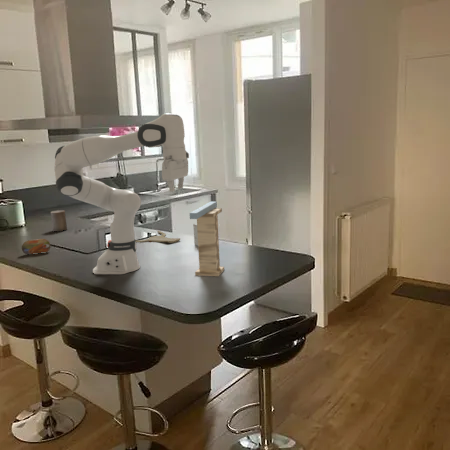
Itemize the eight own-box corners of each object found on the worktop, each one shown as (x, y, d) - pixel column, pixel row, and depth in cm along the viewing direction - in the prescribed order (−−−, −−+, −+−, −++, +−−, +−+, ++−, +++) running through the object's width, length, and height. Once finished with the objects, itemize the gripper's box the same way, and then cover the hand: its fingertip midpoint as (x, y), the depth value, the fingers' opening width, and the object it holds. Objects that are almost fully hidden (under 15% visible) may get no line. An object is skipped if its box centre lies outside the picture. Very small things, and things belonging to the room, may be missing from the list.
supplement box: (211, 245, 266) (210, 223, 264) (200, 247, 262) (199, 225, 260) (204, 242, 272) (203, 221, 270) (194, 244, 268) (192, 223, 266)
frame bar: (196, 219, 191) (196, 213, 190) (189, 218, 191) (189, 213, 191) (216, 206, 219) (216, 201, 218) (210, 206, 220) (210, 201, 219)
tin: (22, 256, 259) (20, 241, 258) (23, 254, 262) (21, 240, 261) (51, 252, 264) (49, 238, 262) (51, 251, 267) (49, 237, 265)
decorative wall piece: (193, 238, 288) (159, 233, 306) (193, 234, 287) (159, 229, 305) (158, 249, 264) (123, 242, 283) (157, 244, 264) (123, 238, 282)
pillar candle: (70, 229, 329) (67, 208, 326) (62, 231, 320) (59, 210, 317) (57, 229, 331) (55, 208, 328) (49, 232, 322) (47, 210, 319)
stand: (217, 277, 207) (214, 213, 201) (193, 276, 210) (190, 213, 204) (225, 268, 220) (222, 208, 214) (203, 267, 223) (200, 208, 217)
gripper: (172, 156, 173) (174, 193, 176) (190, 153, 193) (192, 186, 195) (156, 157, 175) (159, 193, 178) (176, 153, 194) (177, 186, 197)
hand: (176, 189), depth 187 cm, fingers open, 8 cm apart
